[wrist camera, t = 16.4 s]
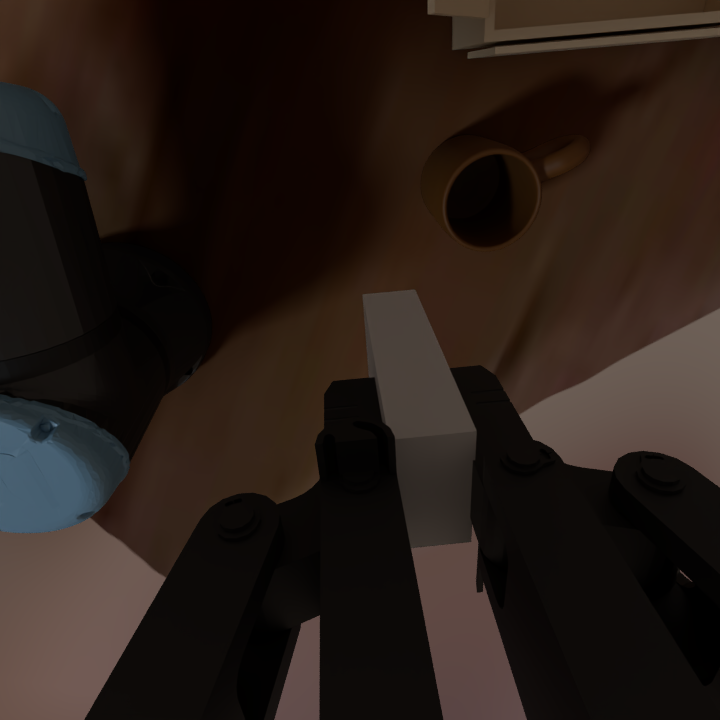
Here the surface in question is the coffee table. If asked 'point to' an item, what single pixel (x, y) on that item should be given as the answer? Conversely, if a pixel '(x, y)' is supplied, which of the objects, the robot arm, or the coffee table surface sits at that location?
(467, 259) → the coffee table surface
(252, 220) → the coffee table surface
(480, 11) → the flap
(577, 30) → the carton
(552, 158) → the mug
